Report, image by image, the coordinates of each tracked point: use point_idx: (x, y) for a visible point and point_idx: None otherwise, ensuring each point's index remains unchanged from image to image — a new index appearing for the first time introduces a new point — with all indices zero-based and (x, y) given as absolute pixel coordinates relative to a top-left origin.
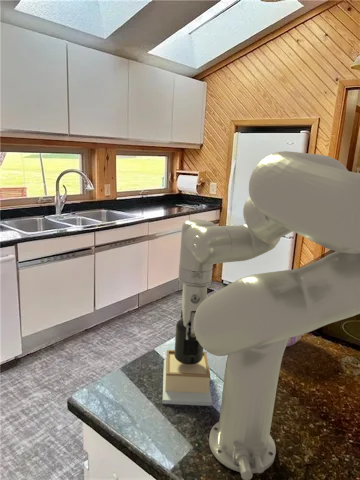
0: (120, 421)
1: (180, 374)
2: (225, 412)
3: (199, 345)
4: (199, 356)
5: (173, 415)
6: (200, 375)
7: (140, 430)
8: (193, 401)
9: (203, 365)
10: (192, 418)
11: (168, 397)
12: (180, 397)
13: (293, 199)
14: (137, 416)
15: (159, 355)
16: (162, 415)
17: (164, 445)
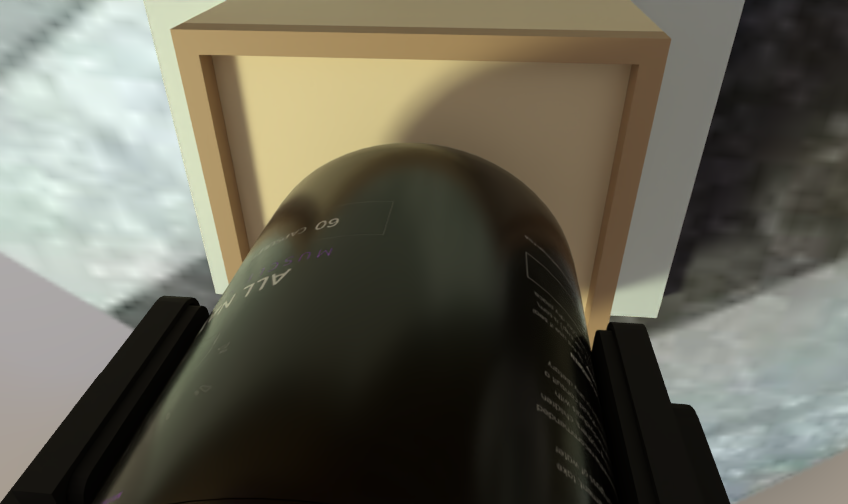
0: (746, 459)
1: (608, 310)
2: None
3: (572, 363)
4: (545, 235)
5: (769, 248)
6: (644, 145)
7: (836, 394)
8: (707, 132)
9: (425, 79)
10: (834, 137)
11: (638, 287)
12: (649, 218)
13: None
14: (729, 404)
15: (148, 297)
16: (752, 302)
17: None
